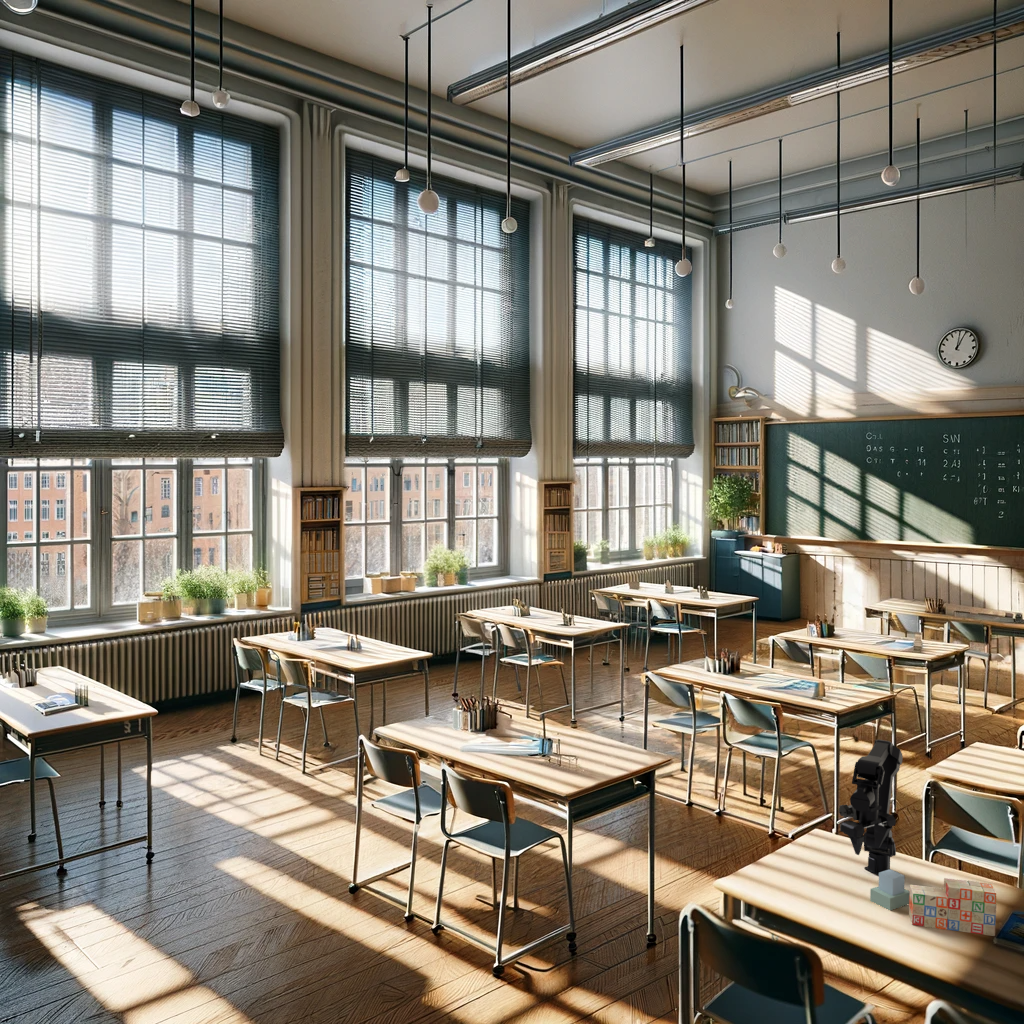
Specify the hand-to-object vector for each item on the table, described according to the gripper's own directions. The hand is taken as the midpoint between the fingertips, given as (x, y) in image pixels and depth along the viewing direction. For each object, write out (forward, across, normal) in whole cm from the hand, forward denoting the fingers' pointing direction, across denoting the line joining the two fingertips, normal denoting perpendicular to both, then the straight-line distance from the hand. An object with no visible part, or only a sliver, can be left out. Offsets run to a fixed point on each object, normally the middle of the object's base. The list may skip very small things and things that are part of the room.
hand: (867, 851), depth 283 cm
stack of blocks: (+12, -1, +27) cm, 30 cm away
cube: (+8, +1, +10) cm, 13 cm away
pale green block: (+12, +2, +10) cm, 15 cm away
